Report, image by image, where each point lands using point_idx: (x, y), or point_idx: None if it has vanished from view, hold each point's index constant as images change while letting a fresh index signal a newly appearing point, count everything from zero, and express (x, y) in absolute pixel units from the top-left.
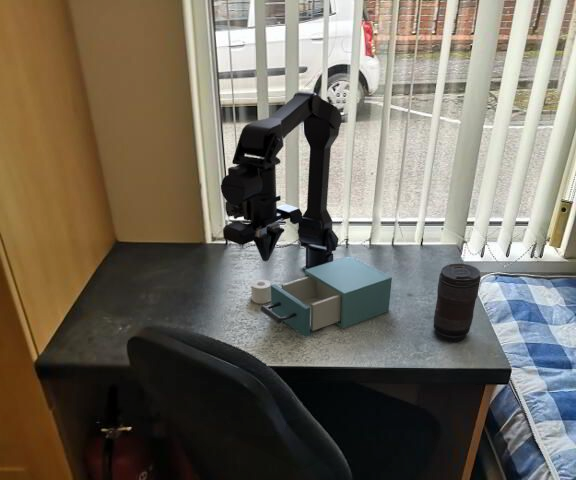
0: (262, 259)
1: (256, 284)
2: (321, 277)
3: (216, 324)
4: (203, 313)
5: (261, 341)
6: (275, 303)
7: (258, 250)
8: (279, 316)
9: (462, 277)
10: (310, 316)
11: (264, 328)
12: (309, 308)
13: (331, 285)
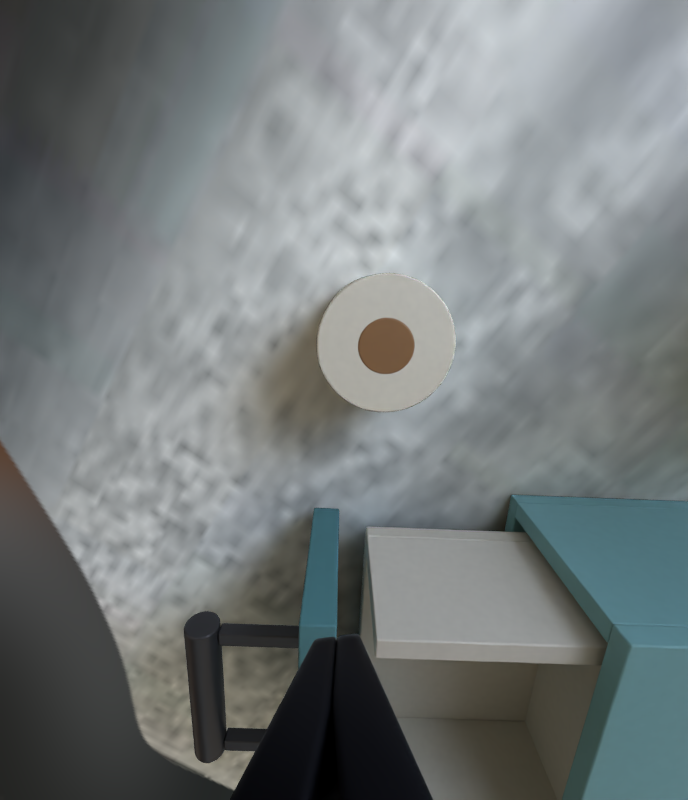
0: (310, 654)
1: (356, 333)
2: (610, 778)
3: (54, 412)
4: (29, 272)
5: (171, 621)
6: (277, 639)
7: (234, 796)
8: (214, 747)
9: None
10: (406, 665)
11: (230, 559)
12: None
13: None
